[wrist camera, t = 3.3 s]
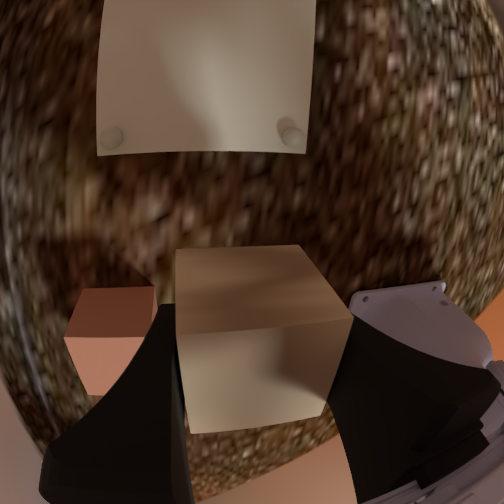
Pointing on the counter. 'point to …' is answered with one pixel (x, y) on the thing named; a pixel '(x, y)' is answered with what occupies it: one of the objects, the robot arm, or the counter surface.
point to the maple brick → (255, 336)
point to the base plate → (204, 76)
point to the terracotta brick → (108, 332)
